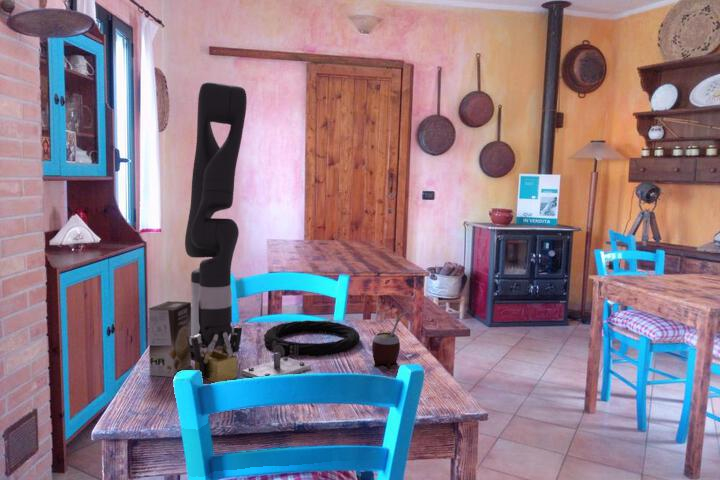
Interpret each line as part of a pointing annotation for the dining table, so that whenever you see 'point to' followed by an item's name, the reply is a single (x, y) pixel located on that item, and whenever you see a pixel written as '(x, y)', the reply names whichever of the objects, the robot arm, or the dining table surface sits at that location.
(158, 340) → the coffee box
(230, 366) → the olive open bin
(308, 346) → the cable lock
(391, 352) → the mate gourd
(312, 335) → the dining table surface
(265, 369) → the plate
